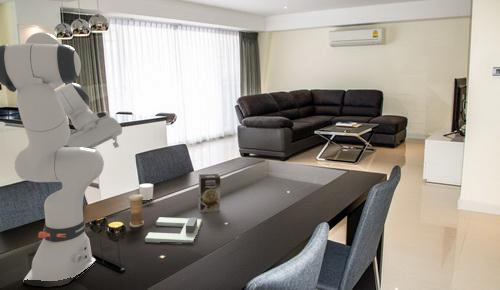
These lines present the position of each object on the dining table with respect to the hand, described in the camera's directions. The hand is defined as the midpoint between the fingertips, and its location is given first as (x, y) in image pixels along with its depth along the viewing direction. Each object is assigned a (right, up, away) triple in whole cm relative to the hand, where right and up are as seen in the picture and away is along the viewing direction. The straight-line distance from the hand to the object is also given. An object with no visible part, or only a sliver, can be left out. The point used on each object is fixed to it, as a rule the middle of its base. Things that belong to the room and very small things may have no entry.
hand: (105, 152), depth 149 cm
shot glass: (+4, -24, +42) cm, 49 cm away
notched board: (+25, -32, +7) cm, 41 cm away
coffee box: (+36, -27, +32) cm, 55 cm away
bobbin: (+8, -30, +13) cm, 34 cm away
